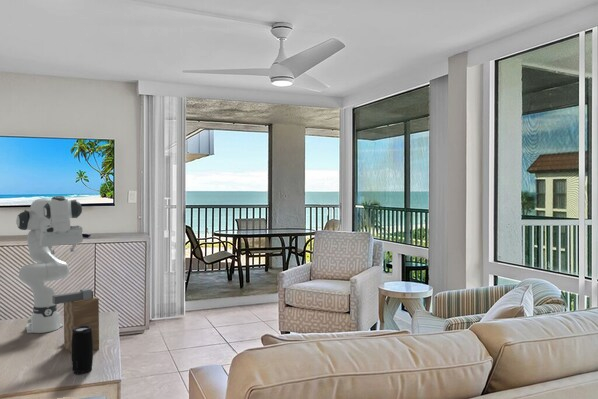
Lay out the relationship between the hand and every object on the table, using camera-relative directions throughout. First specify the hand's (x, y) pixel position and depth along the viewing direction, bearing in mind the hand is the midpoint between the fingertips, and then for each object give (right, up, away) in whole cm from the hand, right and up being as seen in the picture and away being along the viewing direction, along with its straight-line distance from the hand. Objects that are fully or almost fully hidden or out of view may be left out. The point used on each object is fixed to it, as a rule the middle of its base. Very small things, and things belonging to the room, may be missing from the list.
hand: (62, 252), depth 245 cm
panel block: (+14, -48, -9) cm, 51 cm away
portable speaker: (+28, -49, -38) cm, 68 cm away
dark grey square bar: (+13, -22, -16) cm, 30 cm away
